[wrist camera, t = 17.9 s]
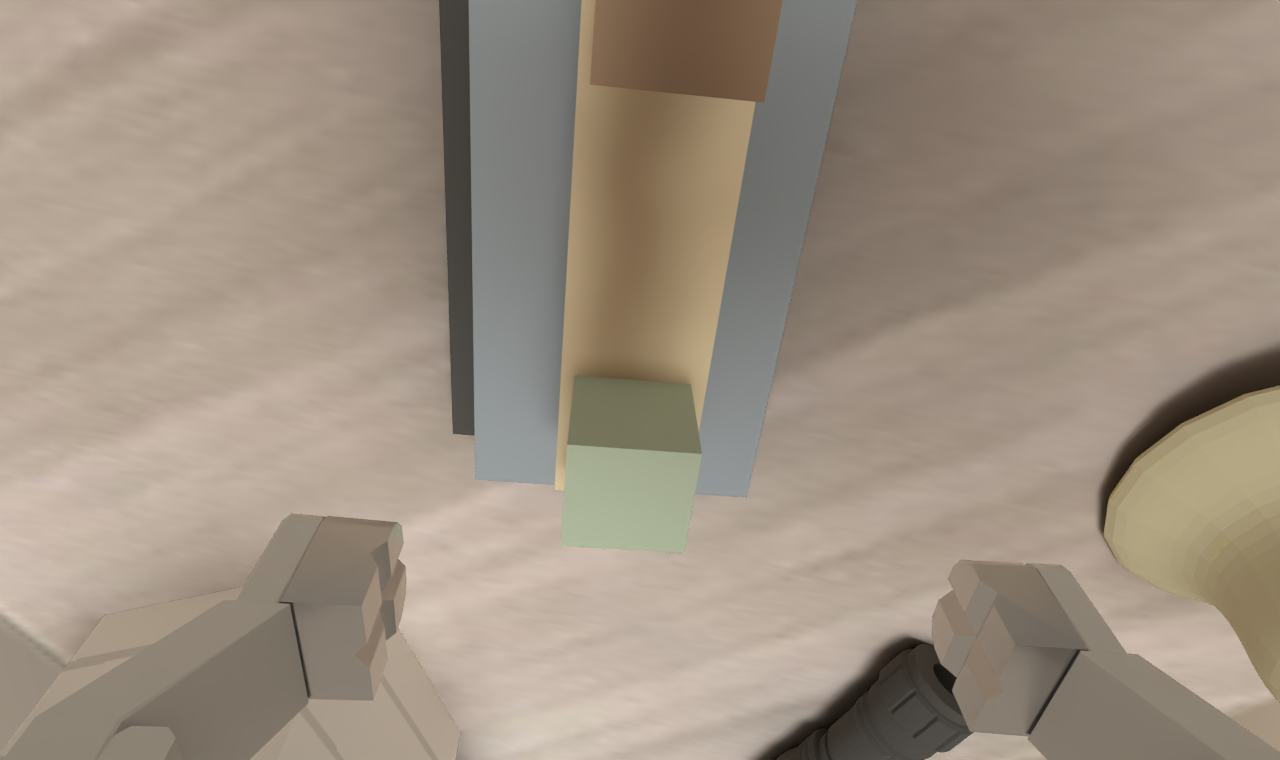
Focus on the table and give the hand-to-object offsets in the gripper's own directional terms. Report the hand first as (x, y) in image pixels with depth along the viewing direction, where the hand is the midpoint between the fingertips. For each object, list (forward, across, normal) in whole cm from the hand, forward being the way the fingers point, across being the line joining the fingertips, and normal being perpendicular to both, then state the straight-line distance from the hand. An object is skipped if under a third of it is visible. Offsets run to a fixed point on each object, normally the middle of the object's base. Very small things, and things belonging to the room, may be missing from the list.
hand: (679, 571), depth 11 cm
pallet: (+18, 0, 0) cm, 18 cm away
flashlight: (+21, -16, +32) cm, 42 cm away
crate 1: (+14, 0, -7) cm, 16 cm away
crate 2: (+14, 0, +7) cm, 16 cm away
